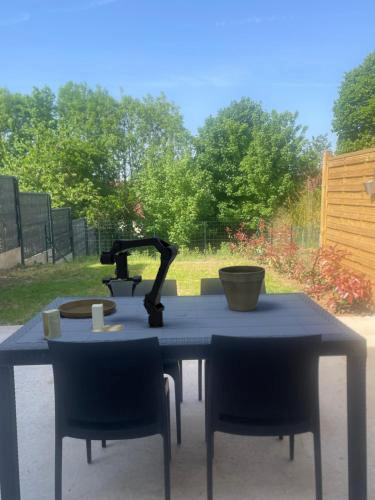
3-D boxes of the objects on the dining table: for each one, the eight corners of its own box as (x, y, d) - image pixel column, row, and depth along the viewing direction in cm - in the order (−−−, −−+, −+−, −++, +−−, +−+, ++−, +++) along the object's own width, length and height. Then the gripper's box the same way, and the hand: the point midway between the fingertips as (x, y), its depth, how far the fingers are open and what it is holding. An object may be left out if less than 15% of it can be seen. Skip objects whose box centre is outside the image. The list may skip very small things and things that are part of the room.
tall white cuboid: (103, 325, 204) (102, 303, 203) (102, 328, 199) (101, 306, 197) (94, 326, 204) (93, 304, 202) (92, 329, 198) (91, 307, 197)
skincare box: (56, 335, 193) (54, 308, 192) (61, 336, 190) (60, 309, 189) (43, 338, 188) (41, 311, 187) (49, 340, 185) (47, 312, 184)
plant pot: (244, 316, 215) (243, 274, 212) (209, 308, 233) (208, 269, 231) (275, 307, 231) (274, 268, 229) (240, 301, 249) (240, 264, 247)
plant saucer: (120, 316, 223) (120, 308, 222) (58, 323, 213) (58, 314, 213) (112, 304, 252) (112, 296, 252) (57, 309, 243) (57, 301, 242)
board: (125, 325, 204) (125, 324, 204) (122, 332, 194) (122, 330, 194) (95, 326, 204) (95, 325, 204) (91, 333, 194) (91, 331, 194)
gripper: (142, 262, 214) (143, 293, 216) (105, 263, 214) (106, 294, 216) (140, 265, 203) (141, 297, 205) (101, 266, 203) (102, 299, 205)
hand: (123, 297), depth 208 cm, fingers open, 9 cm apart
